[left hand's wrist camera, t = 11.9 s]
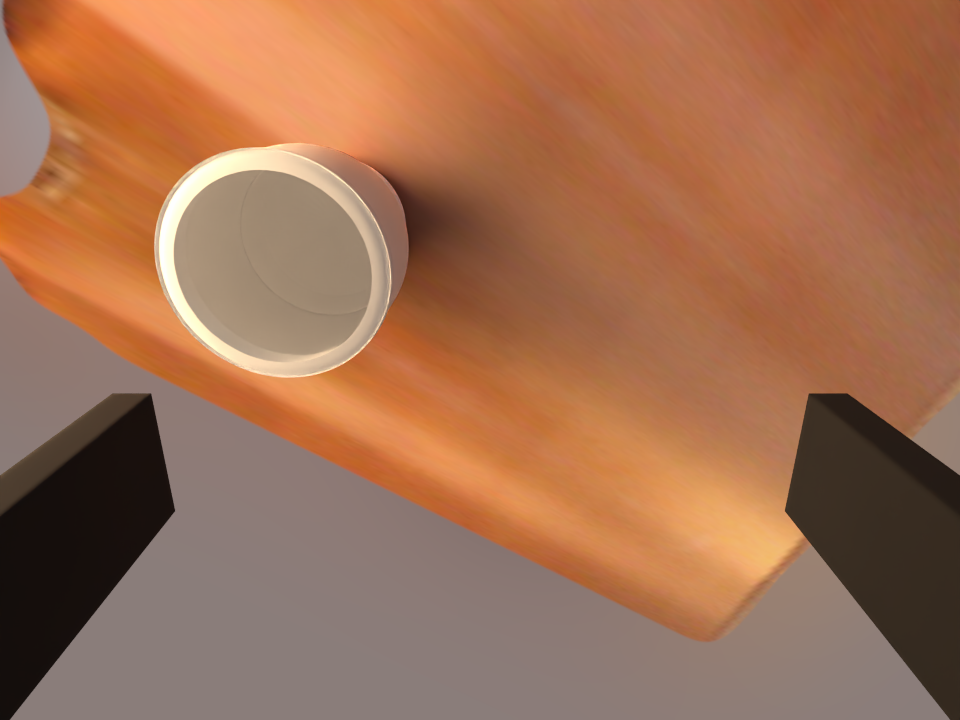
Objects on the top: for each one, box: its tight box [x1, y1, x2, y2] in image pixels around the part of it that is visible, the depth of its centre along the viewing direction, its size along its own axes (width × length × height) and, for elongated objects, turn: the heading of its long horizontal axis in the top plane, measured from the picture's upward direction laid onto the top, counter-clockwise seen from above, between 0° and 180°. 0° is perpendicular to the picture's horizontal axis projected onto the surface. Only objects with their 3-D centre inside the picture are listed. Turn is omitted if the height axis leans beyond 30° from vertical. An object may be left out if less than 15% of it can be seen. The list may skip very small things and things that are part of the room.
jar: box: [154, 143, 409, 377], centre depth 34 cm, size 11×10×15 cm
